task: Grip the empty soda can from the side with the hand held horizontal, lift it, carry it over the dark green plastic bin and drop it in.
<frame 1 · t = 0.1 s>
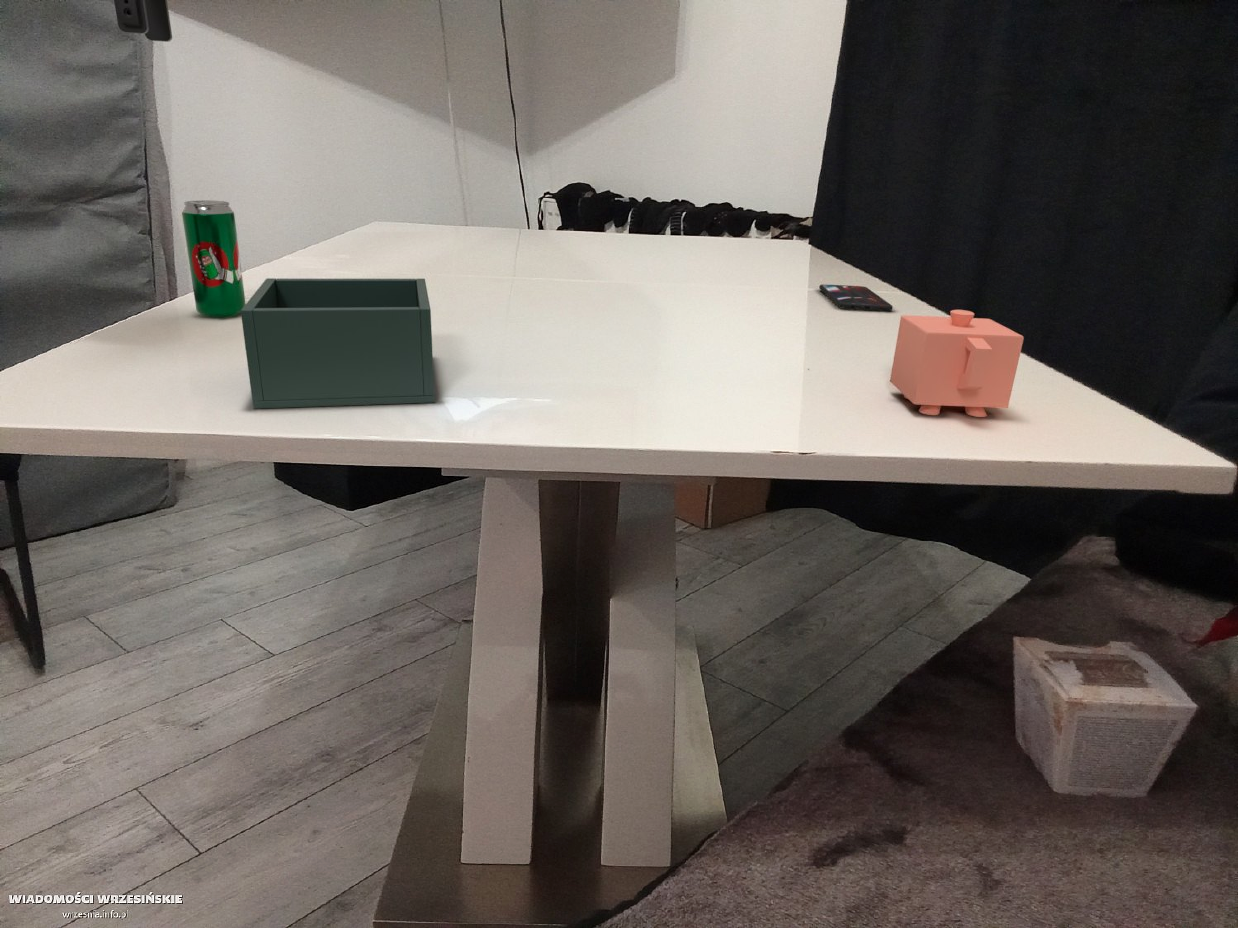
hand: (147, 37, 75), 27 cm above the table, tool pointing down, fingers open, 8 cm apart
bin: (350, 381, 71), on the table
smartphone: (853, 300, 117), on the table
pink cube teapot: (941, 405, 72), on the table
soda can: (222, 315, 93), on the table
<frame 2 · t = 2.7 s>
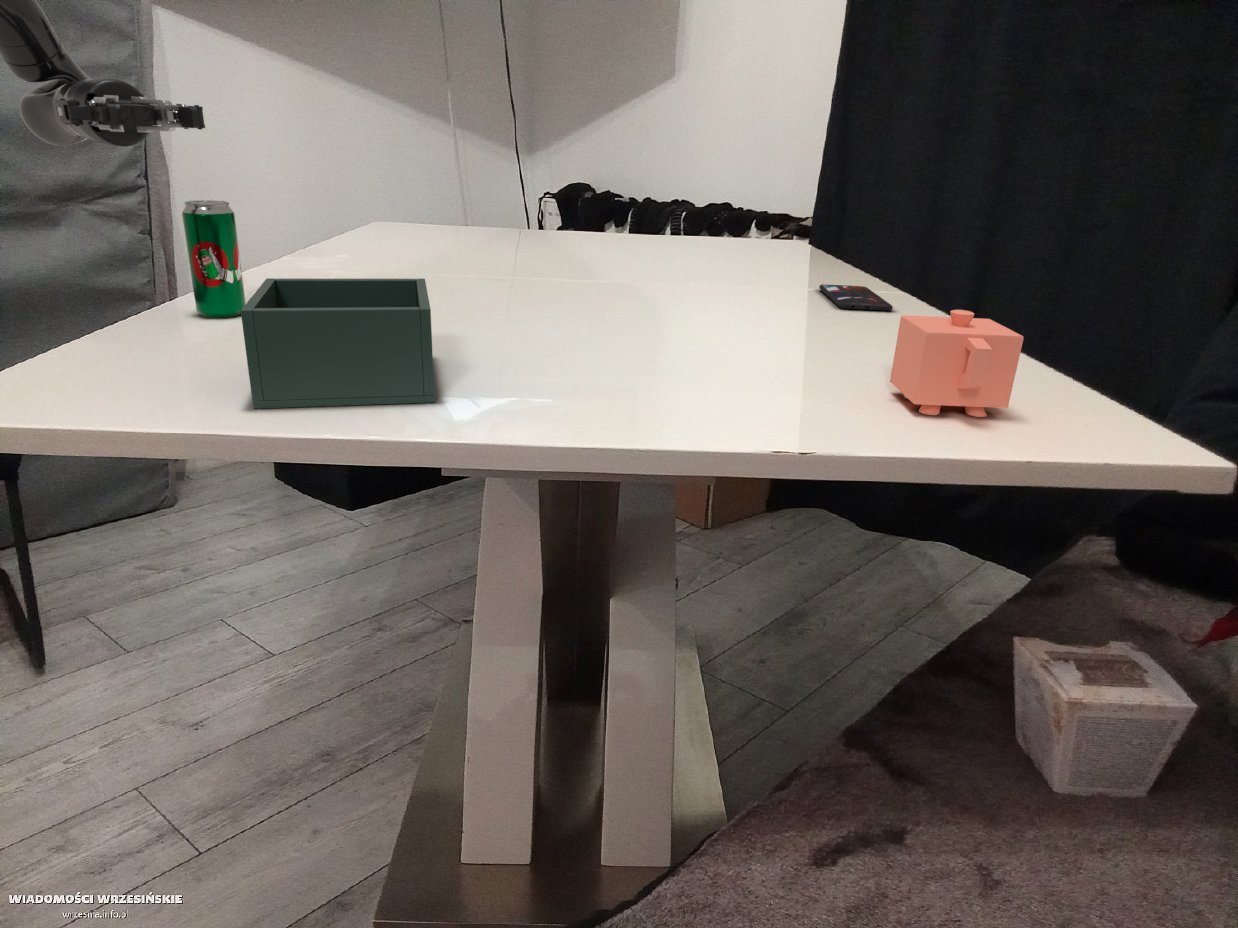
hand: (156, 116, 92), 20 cm above the table, tool horizontal, fingers open, 8 cm apart
nothing on the table moved.
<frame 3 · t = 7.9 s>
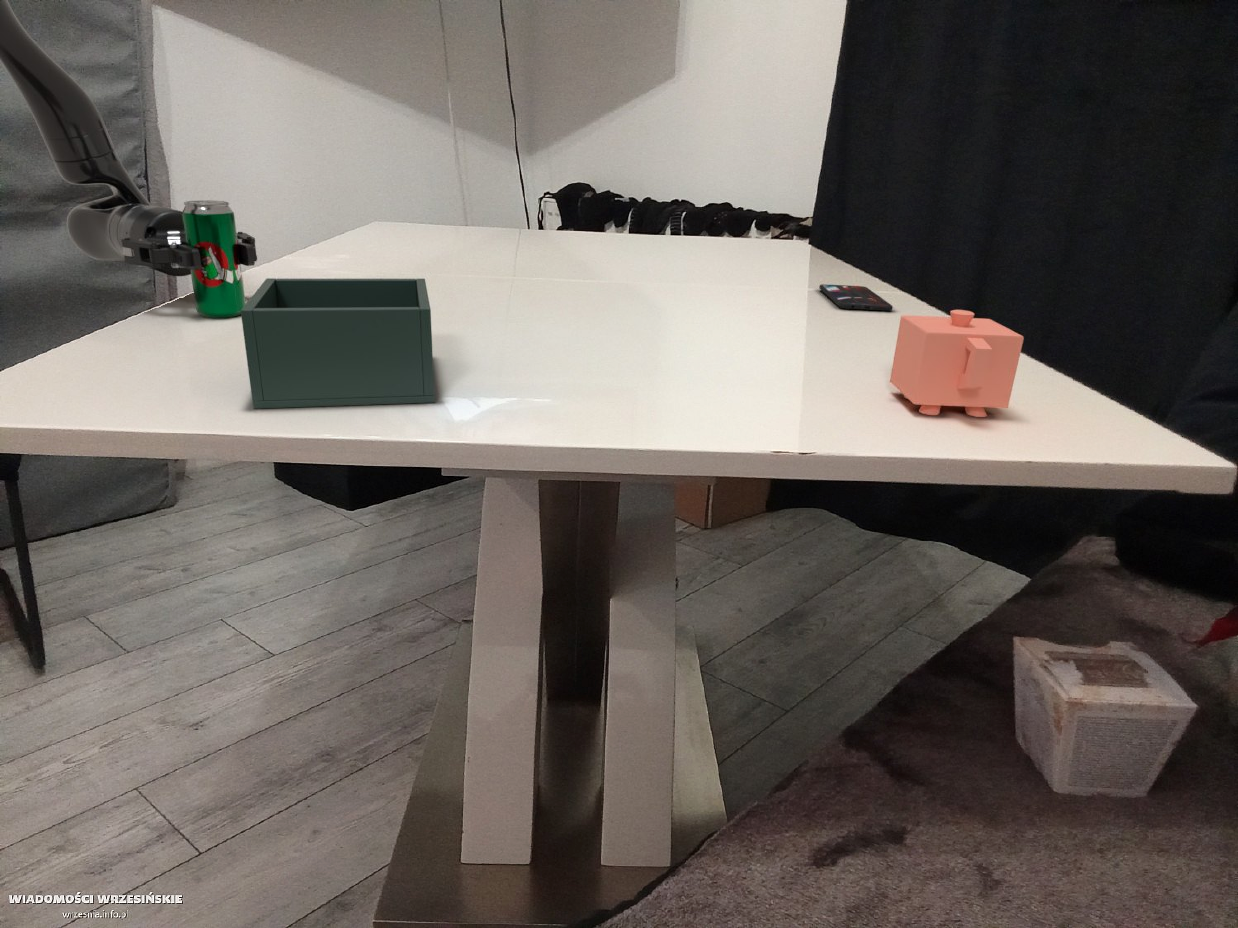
hand: (224, 258, 89), 7 cm above the table, tool horizontal, fingers closed on soda can, 5 cm apart
soda can: (222, 315, 93), on the table, touching gripper
everything else where it was.
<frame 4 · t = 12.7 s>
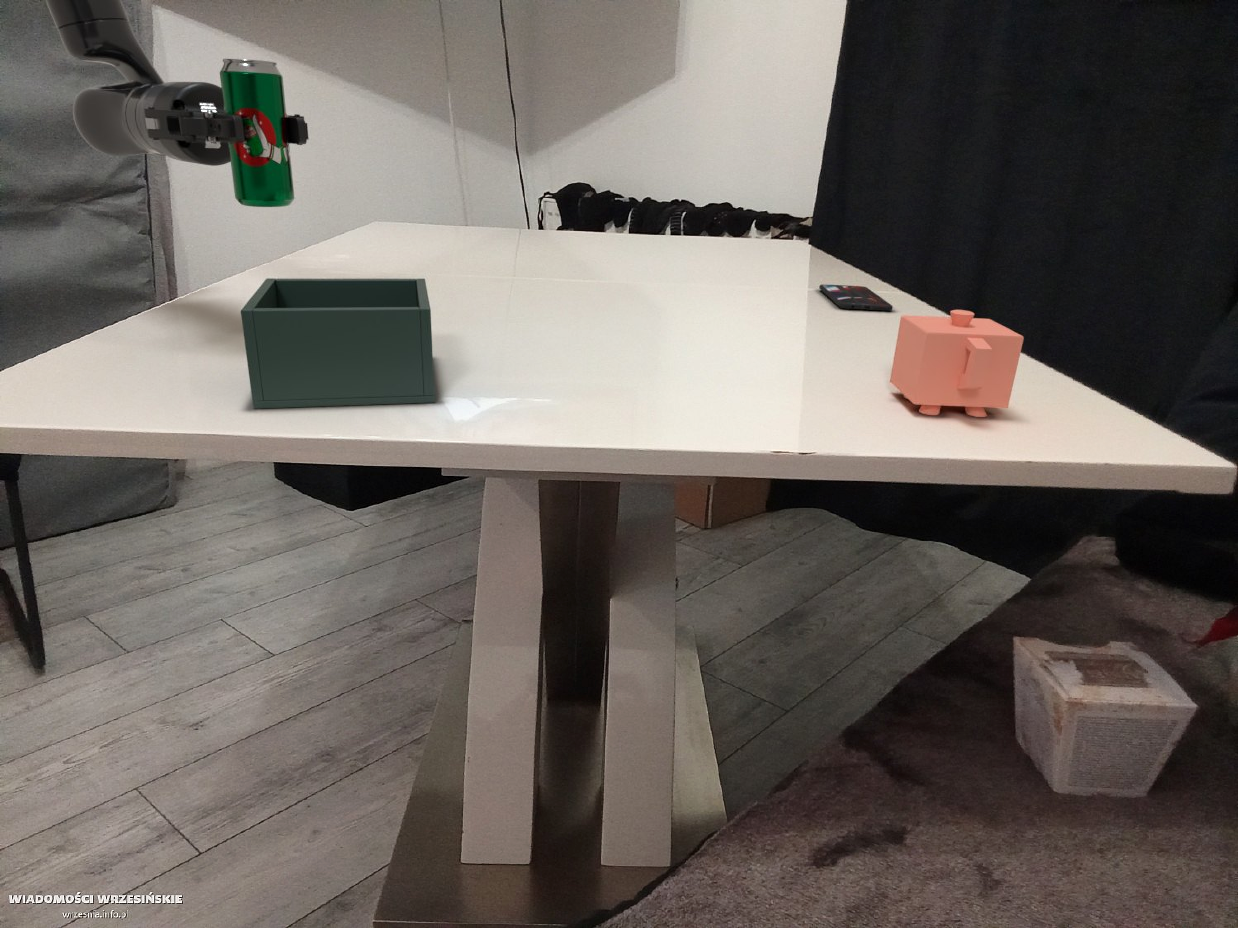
hand: (271, 130, 72), 20 cm above the table, tool horizontal, fingers closed on soda can, 5 cm apart
soda can: (266, 207, 76), point 13 cm above the table, touching gripper
everything else where it was.
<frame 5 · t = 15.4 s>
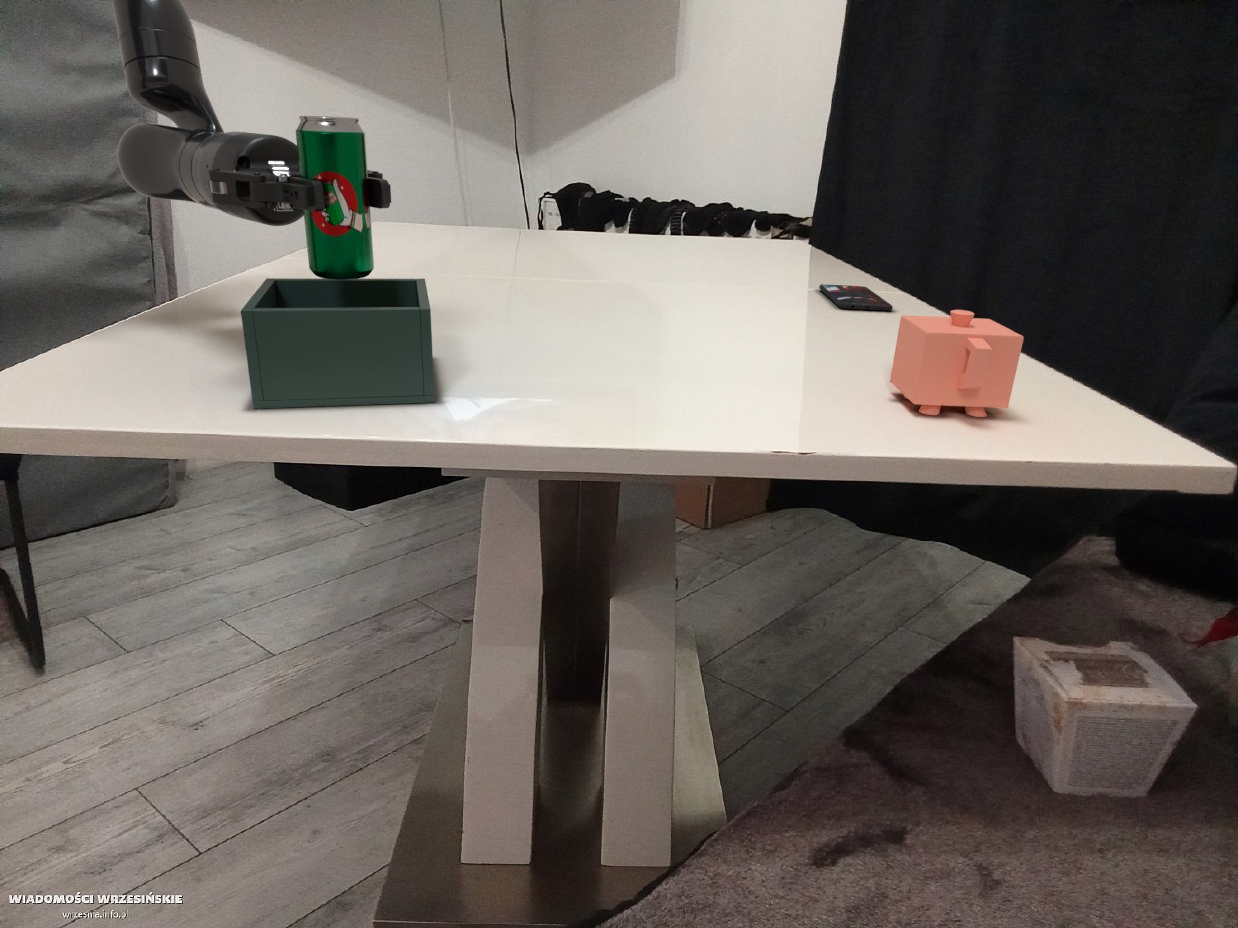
hand: (353, 195, 64), 15 cm above the table, tool horizontal, fingers closed on soda can, 5 cm apart
soda can: (342, 277, 68), point 9 cm above the table, touching gripper
everything else where it was.
when the fingers open (10 cm above the table, at t = 17.5 s): soda can drops 3 cm, resting on bin.
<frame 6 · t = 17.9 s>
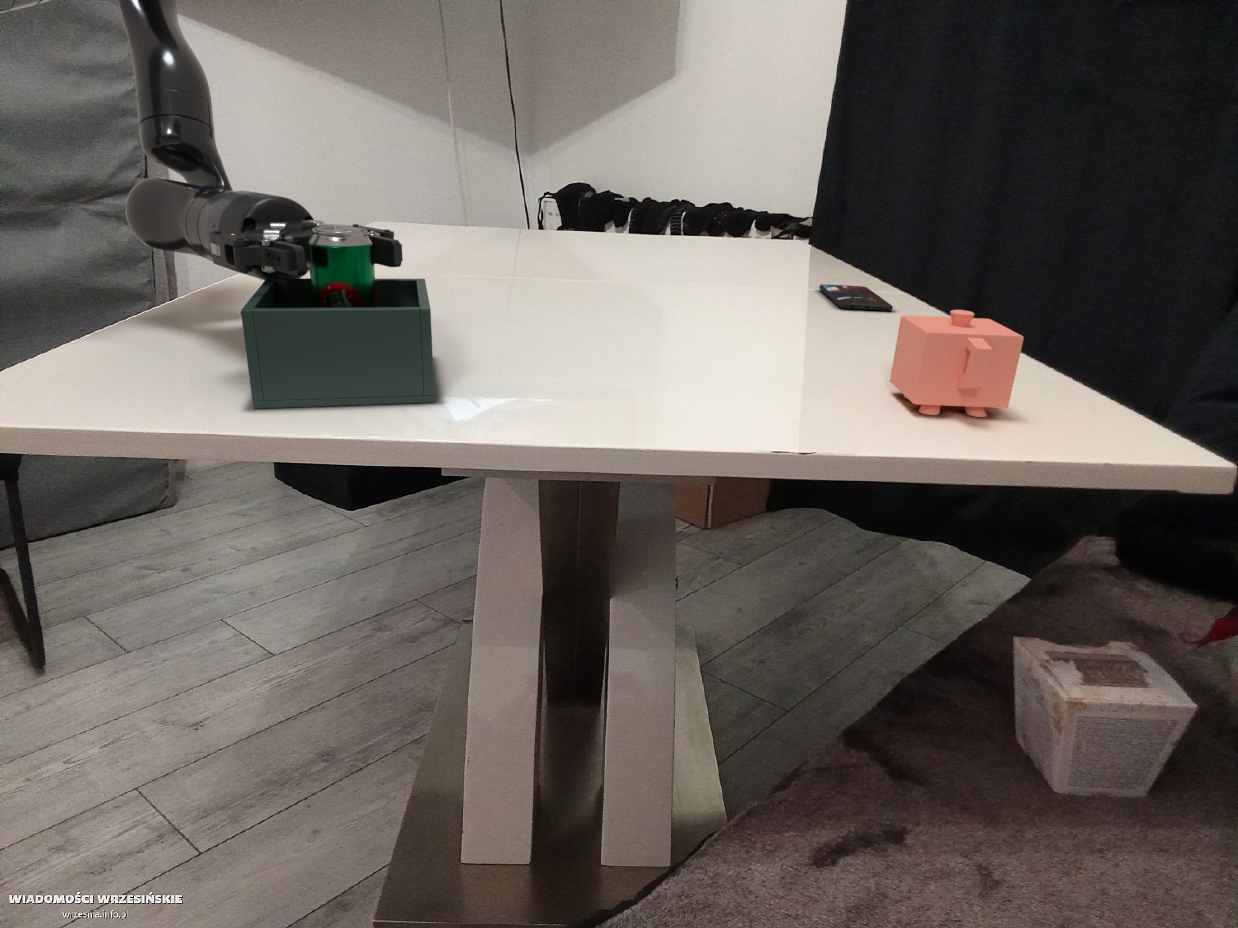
hand: (351, 258, 66), 11 cm above the table, tool horizontal, fingers open, 8 cm apart
soda can: (349, 375, 71), resting on bin
everything else where it was.
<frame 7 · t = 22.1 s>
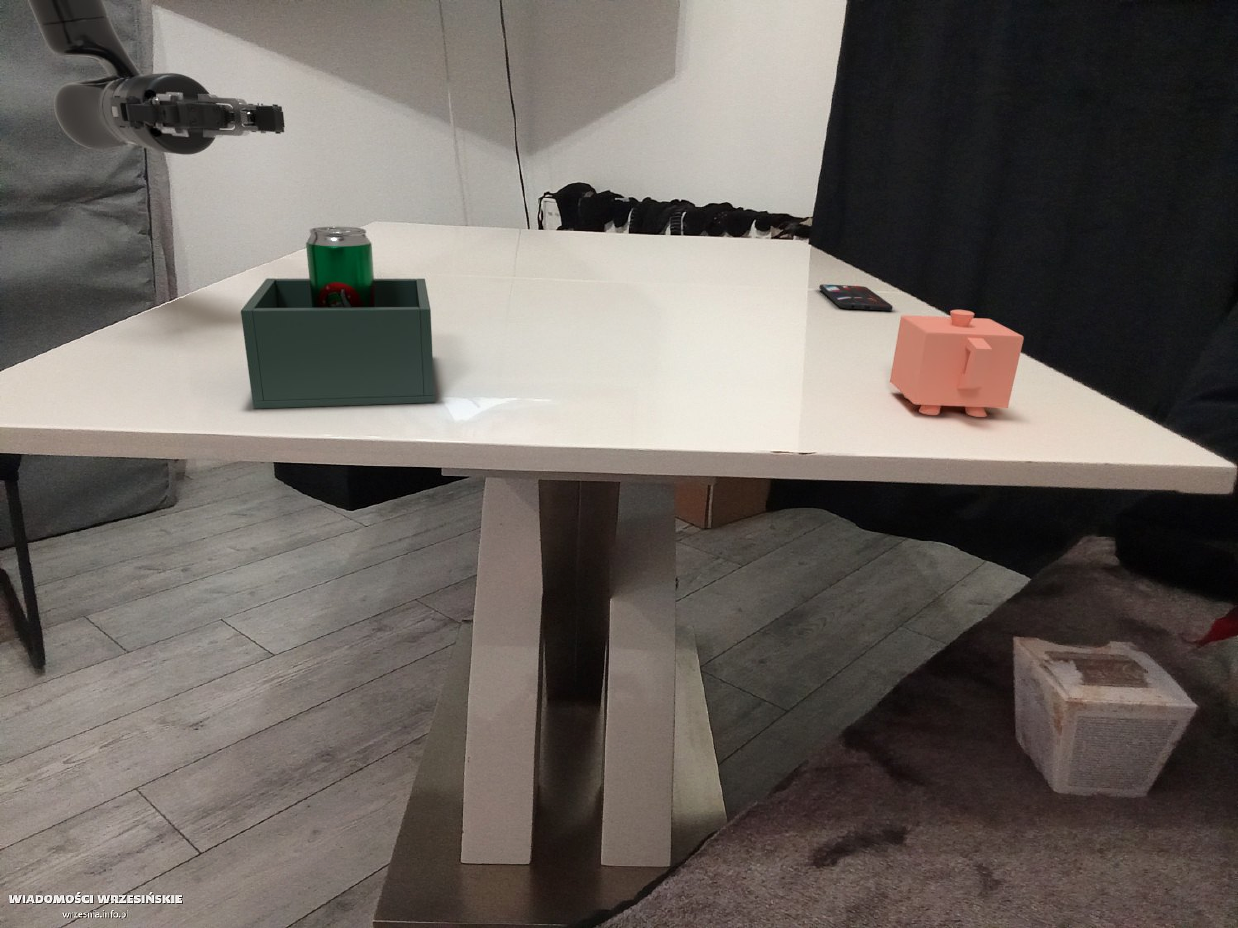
hand: (233, 117, 75), 21 cm above the table, tool horizontal, fingers open, 8 cm apart
nothing on the table moved.
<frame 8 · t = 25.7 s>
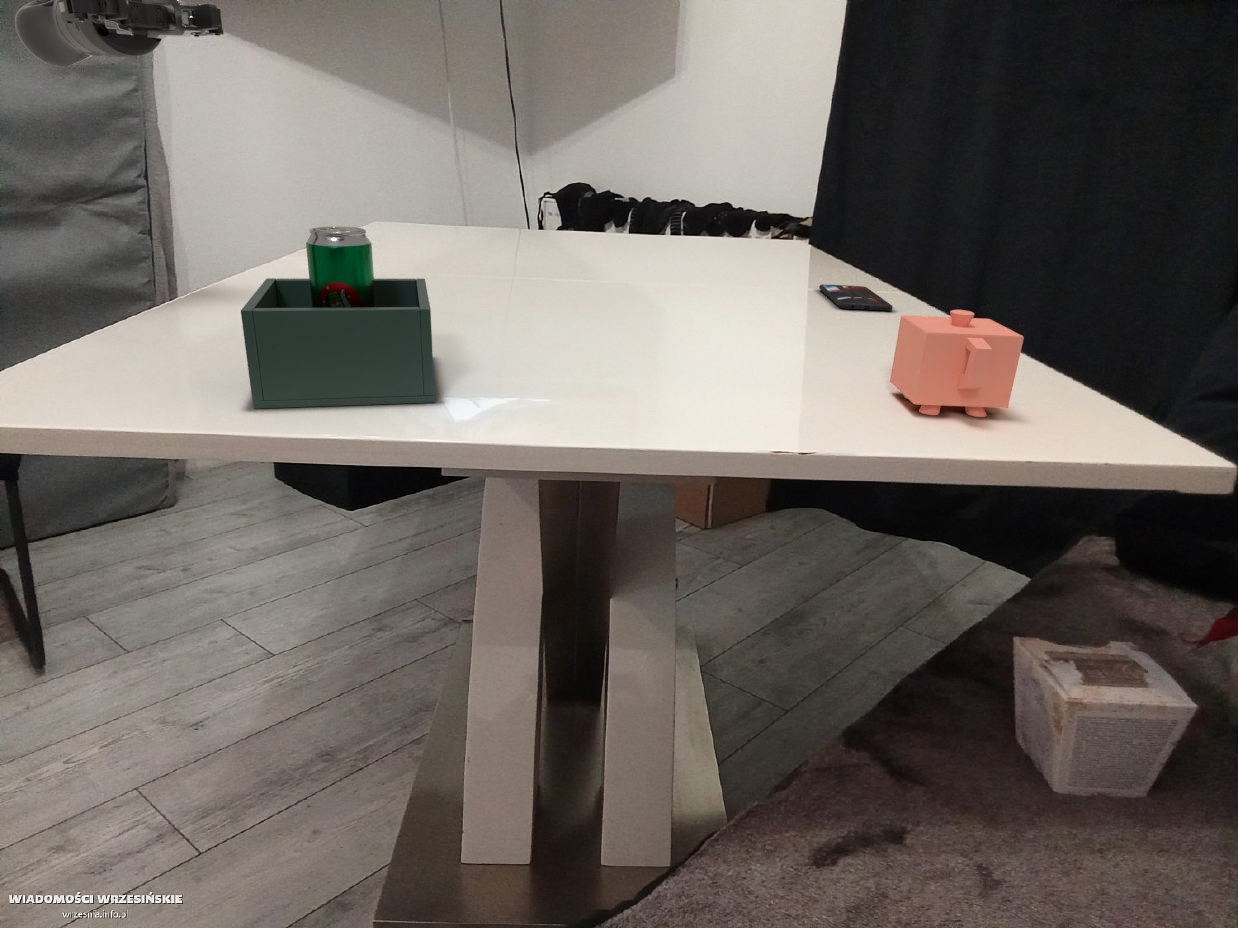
hand: (170, 11, 81), 30 cm above the table, tool horizontal, fingers open, 8 cm apart
nothing on the table moved.
at the end: soda can inside the target area in the bin (0.2 cm from its centre), point 0.4 cm above the bin's base; the gripper is holding nothing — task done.
